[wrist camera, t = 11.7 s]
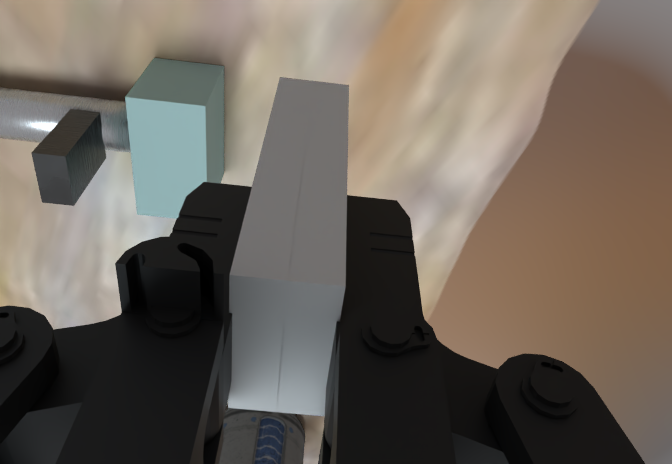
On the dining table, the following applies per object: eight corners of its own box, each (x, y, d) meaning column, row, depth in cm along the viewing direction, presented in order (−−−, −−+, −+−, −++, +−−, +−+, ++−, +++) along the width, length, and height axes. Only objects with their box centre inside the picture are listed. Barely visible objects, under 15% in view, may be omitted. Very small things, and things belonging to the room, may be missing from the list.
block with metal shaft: (-100, 111, 45) (-194, 177, 38) (-117, 65, 43) (-219, 125, 35) (192, 143, 46) (160, 214, 39) (191, 100, 44) (157, 166, 36)
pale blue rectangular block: (161, 166, 48) (137, 214, 43) (154, 57, 43) (125, 96, 37) (223, 172, 49) (207, 221, 43) (224, 66, 43) (205, 106, 38)
